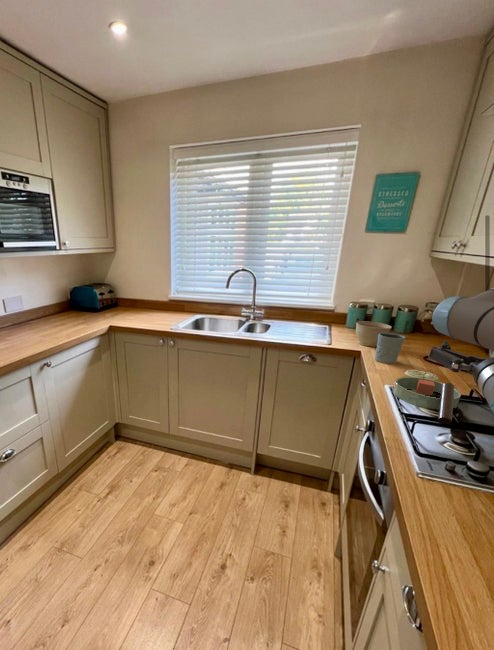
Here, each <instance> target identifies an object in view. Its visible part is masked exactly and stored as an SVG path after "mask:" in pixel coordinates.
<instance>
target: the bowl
mask: <svg viewBox="0 0 494 650" xmlns="http://www.w3.org/2000/svg"><path fill="white" fill-rule="evenodd" d="M419 379H421V380H426V381H431V382H434V384H435V388H434V391H435V392H438V393H440V394H441V387H442V384H444V382H441V381H438V382H437V381H433V380H429V379H424V378H417V377H405V376H402V377H398V378H396V379H395V381H394V384H393V388H392V394H393V395H394V396H395V397H396V398H398V399H399V400H400V401H403V402H405V403H408V404H411V405H413V406H416V407H420V408H424V409H428V410H434V411H435V409H436V411H439V405H440V398H436V397H430V396H425V395H421V394H418V393H416V387H417V384H418V381H419ZM407 389H412V390H407ZM461 397H462V394H461V392H460V391H459V390H458V389H456V388H454V400H453V408H455V409H457V407H458V406H459V403H460V400H461Z"/></svg>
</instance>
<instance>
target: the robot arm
mask: <svg viewBox="0 0 494 650" xmlns="http://www.w3.org/2000/svg"><path fill="white" fill-rule="evenodd" d="M431 321H432V325H433V328H434V329H435V330H436V331H437V332H438V333H440V334H442V335H444V336H446V337H449V338H451V339H454V340H459V341H462V342H465V343H468V344H471V345H476V346H478V347H480V348H481V347H482V348H484V349H487V350H491V351H494V287H492V288H490V289H488V290H486V291H483V292H481V293H479V294H477V295H474V296H472V297H468V296H464V295H462V296H450V297H447V298H445V299H443V300H442V301H441V302H440V303H439V304H438V305H437V306H436V307H435V308H434V311H433V313H432V318H431ZM428 359H430V360H432V361H434V362H436V363H438V364H440V365H441V366H443V367H446V368H447V369H449V371H451V372H453V373H459V372H461V370H462V371H463V370H464V371H465V372H466V373H469V374H472V377H473V381H474V383H475V385H476V386H477V388H478V390H479V391H480V393H481V394H482V396H483V397H484V399H485V400H486V402H487V403H488V406H489V407H490V410H491V413H492V415H493V416H494V356H492V357H489V358H484V357H481V356H479V355H469V354H468V355H467V354H464V353H461V352H458V351H455V350H452V347H451V346H450V344H449V342H448V341H445V340H443V341H442V344H441V346H438V347H436V346H431V348H430V351H429V354H428Z"/></svg>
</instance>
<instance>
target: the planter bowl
mask: <svg viewBox="0 0 494 650" xmlns="http://www.w3.org/2000/svg"><path fill="white" fill-rule="evenodd" d="M391 330H392V326H391V325H389V324H386V323H382V322H376V321H368V320H367V321H366V320H365V321H364V320H362V321H357V322H356V323H355V334H356V337H357V339H358V343H359V345H362V346H366V347H373V348H374V347H375V348H377V342H378V335H379V333H391Z"/></svg>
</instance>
